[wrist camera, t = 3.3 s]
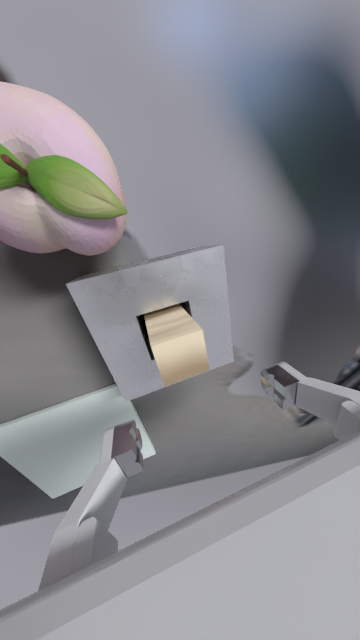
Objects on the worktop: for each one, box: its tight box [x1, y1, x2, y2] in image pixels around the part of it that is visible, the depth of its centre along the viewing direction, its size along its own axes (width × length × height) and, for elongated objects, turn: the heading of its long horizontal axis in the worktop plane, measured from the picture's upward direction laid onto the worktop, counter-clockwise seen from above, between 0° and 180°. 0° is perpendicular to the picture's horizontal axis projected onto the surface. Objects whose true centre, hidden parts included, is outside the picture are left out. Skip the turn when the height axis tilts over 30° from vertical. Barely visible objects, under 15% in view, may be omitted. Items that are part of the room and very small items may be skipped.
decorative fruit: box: [0, 82, 127, 256], centre depth 11 cm, size 9×8×10 cm
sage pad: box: [0, 384, 156, 499], centre depth 26 cm, size 18×18×1 cm
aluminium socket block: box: [66, 245, 234, 402], centre depth 20 cm, size 14×14×5 cm
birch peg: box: [144, 304, 210, 386], centre depth 18 cm, size 4×4×10 cm
